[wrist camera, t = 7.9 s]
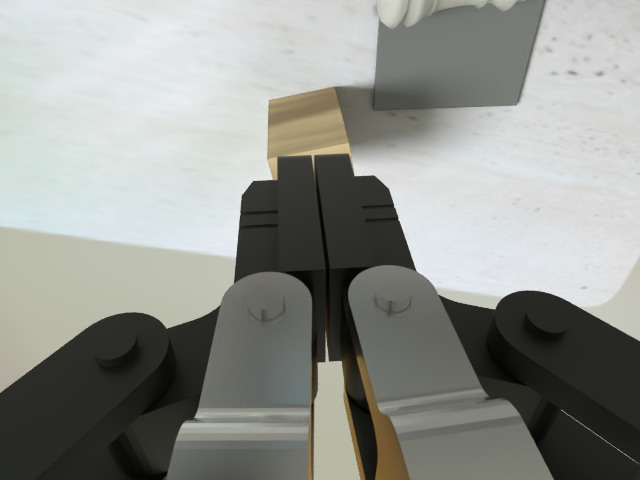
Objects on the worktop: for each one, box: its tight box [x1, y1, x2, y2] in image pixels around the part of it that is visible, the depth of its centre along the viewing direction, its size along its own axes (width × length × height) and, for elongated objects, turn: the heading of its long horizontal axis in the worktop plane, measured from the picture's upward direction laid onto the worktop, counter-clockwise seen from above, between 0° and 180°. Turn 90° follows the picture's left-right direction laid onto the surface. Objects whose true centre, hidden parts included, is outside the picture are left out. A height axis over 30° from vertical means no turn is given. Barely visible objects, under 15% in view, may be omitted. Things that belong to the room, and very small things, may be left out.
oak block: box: [267, 87, 354, 180], centre depth 30 cm, size 4×4×8 cm
